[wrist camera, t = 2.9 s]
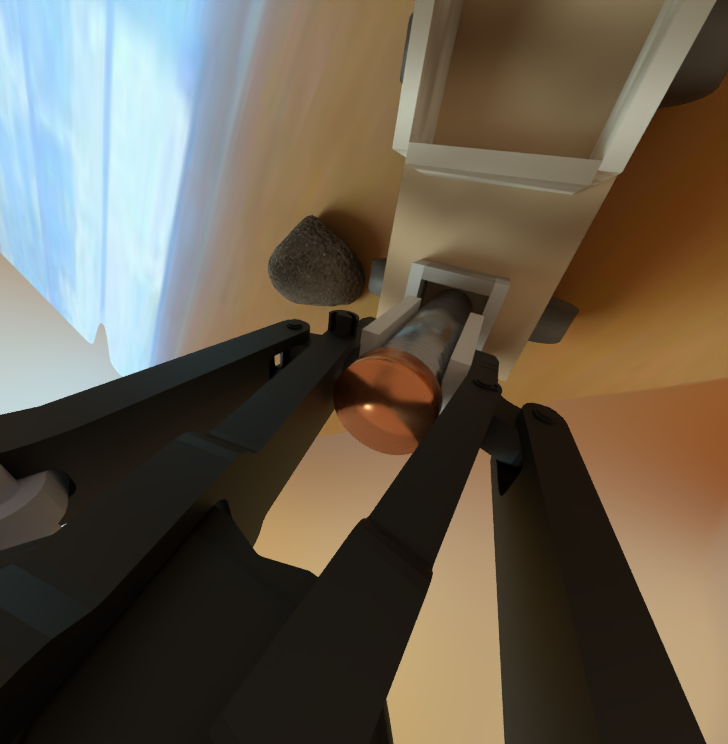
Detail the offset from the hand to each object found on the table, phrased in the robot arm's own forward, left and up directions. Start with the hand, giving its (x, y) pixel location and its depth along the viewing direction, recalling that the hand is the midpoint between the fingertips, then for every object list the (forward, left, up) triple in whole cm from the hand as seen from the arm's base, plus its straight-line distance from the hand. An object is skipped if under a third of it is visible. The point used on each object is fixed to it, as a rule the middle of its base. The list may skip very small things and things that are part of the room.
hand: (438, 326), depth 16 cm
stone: (+2, -15, -12) cm, 20 cm away
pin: (0, 0, -4) cm, 4 cm away
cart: (-7, 0, -12) cm, 14 cm away
